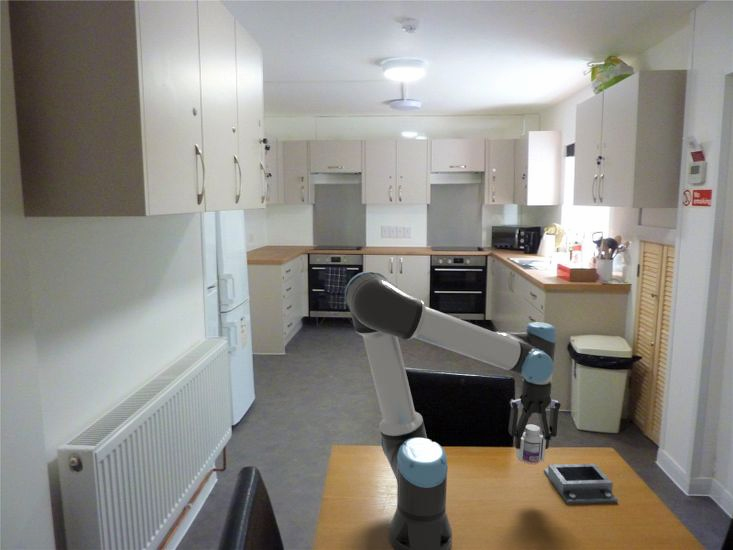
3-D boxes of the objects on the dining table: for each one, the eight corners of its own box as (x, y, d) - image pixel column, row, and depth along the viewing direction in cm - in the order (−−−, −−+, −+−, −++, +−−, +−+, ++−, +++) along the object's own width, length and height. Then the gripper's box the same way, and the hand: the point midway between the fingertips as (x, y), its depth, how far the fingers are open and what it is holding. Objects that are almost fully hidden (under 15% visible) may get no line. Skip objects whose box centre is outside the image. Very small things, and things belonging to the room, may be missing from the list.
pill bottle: (524, 453, 143) (527, 421, 142) (543, 459, 140) (546, 427, 138) (516, 460, 139) (519, 427, 138) (535, 467, 136) (538, 433, 134)
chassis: (617, 502, 136) (618, 489, 136) (567, 503, 136) (568, 490, 135) (588, 470, 152) (589, 458, 152) (543, 471, 152) (544, 459, 151)
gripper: (564, 375, 140) (556, 452, 144) (499, 374, 139) (493, 452, 143) (576, 385, 133) (568, 466, 136) (508, 384, 132) (501, 466, 135)
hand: (530, 458), depth 140 cm, fingers closed on pill bottle, 5 cm apart
